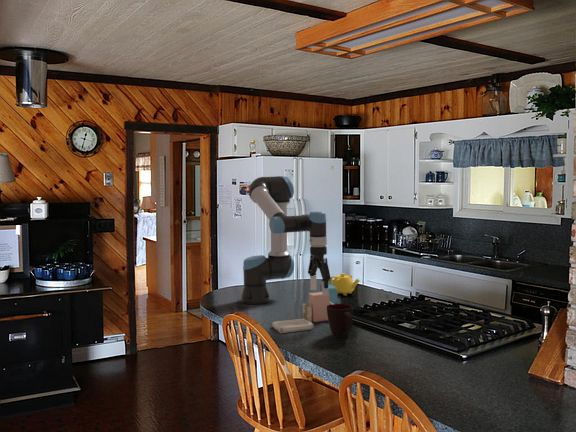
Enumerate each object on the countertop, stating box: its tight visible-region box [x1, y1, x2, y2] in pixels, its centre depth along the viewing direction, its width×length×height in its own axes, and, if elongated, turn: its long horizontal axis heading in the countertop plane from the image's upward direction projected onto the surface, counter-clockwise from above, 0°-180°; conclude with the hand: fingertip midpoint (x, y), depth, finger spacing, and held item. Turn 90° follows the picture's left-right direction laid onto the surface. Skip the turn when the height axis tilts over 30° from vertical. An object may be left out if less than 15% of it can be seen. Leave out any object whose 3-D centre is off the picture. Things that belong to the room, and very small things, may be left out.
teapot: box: [330, 272, 360, 297], centre depth 312 cm, size 14×14×11 cm
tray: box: [271, 317, 315, 334], centre depth 247 cm, size 11×15×2 cm
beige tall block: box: [308, 291, 330, 323], centre depth 260 cm, size 5×8×12 cm, turn 110°
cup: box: [327, 303, 354, 338], centre depth 233 cm, size 10×14×12 cm
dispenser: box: [302, 301, 334, 324], centre depth 260 cm, size 8×13×7 cm, turn 110°
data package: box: [319, 283, 338, 304], centre depth 277 cm, size 12×4×12 cm, turn 16°
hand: (319, 292), depth 259 cm, fingers open, 13 cm apart
